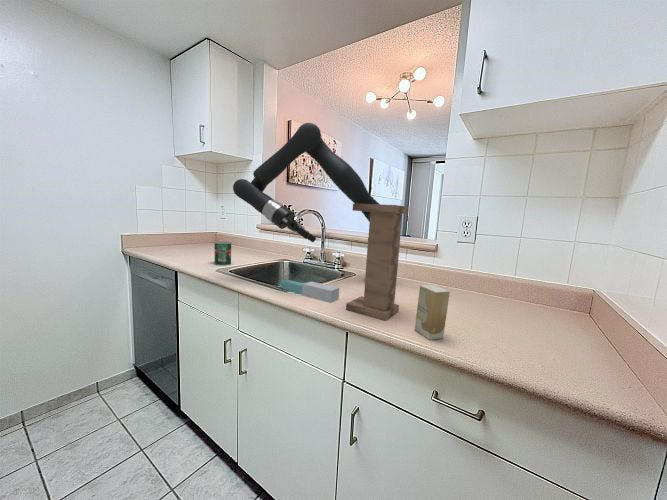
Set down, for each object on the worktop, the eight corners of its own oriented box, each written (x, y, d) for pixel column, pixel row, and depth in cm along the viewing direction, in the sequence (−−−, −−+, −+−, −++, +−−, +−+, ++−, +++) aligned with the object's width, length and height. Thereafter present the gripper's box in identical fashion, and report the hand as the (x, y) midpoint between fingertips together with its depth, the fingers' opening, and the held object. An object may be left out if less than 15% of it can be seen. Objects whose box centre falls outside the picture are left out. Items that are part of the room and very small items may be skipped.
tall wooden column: (361, 301, 93) (368, 205, 88) (398, 311, 86) (408, 206, 82) (345, 309, 84) (352, 203, 80) (385, 320, 78) (396, 205, 73)
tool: (278, 289, 102) (278, 278, 102) (287, 286, 106) (287, 276, 106) (330, 302, 90) (331, 290, 90) (338, 299, 95) (339, 287, 94)
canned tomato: (212, 263, 140) (212, 241, 139) (227, 262, 146) (227, 241, 144) (217, 266, 135) (217, 243, 133) (233, 264, 140) (233, 243, 138)
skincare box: (413, 329, 72) (418, 284, 71) (427, 328, 74) (432, 283, 72) (430, 341, 67) (435, 291, 65) (444, 339, 68) (450, 290, 66)
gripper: (276, 200, 96) (312, 226, 92) (290, 210, 110) (322, 233, 106) (263, 217, 96) (299, 244, 92) (279, 226, 110) (310, 249, 106)
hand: (311, 238), depth 99 cm, fingers open, 8 cm apart
